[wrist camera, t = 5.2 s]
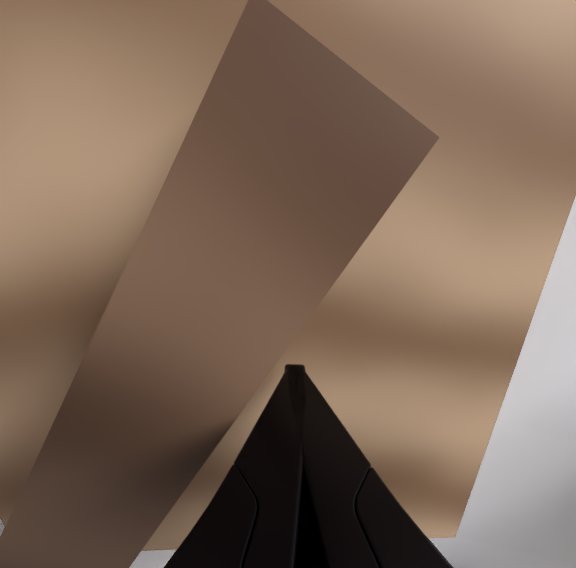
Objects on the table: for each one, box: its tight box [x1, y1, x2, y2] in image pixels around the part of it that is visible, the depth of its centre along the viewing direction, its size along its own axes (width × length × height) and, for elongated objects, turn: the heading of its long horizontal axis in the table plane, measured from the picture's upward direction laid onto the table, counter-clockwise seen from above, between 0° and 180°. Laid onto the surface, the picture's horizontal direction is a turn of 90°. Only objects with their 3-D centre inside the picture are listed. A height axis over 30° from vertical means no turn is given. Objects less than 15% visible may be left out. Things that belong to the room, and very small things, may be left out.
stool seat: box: [0, 0, 576, 551], centre depth 9 cm, size 20×18×4 cm
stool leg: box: [0, 0, 440, 568], centre depth 8 cm, size 18×3×3 cm, turn 148°
